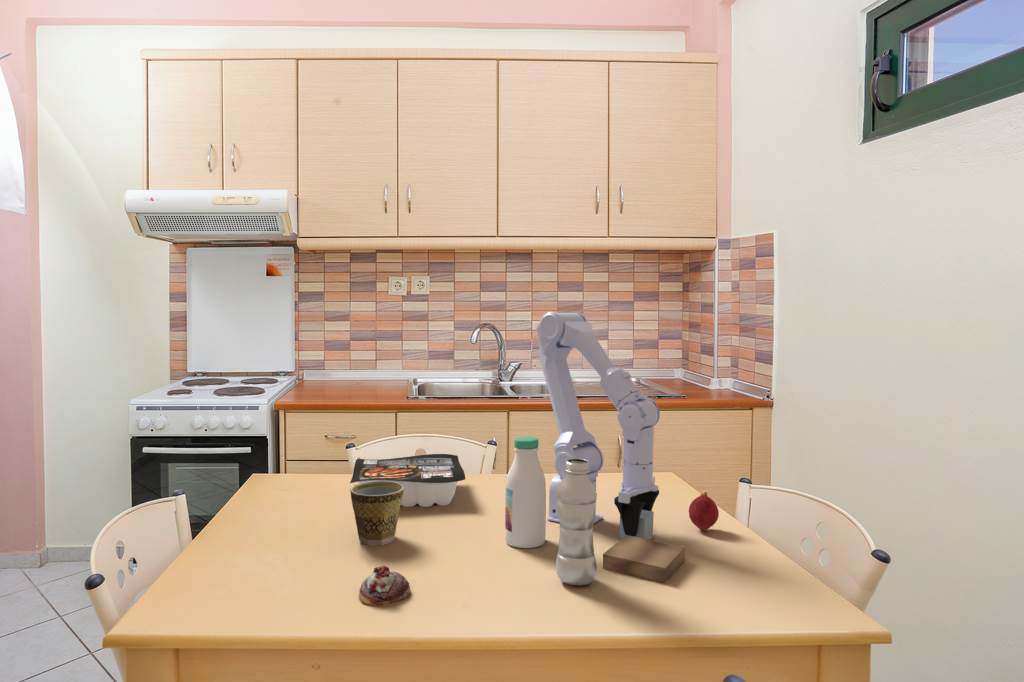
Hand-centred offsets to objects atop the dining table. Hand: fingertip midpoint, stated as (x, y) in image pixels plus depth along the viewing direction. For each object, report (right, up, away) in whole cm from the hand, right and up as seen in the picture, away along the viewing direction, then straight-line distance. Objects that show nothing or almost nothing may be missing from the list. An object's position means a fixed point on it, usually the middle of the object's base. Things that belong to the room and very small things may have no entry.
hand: (636, 530), depth 127 cm
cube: (0, -2, 0) cm, 2 cm away
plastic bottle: (-14, -3, -21) cm, 25 cm away
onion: (+14, -2, +4) cm, 15 cm away
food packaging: (-49, 0, +26) cm, 55 cm away
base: (-1, -2, -13) cm, 13 cm away
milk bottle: (-22, -2, -3) cm, 22 cm away
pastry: (-44, -3, -26) cm, 51 cm away
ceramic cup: (-51, -1, -1) cm, 51 cm away
